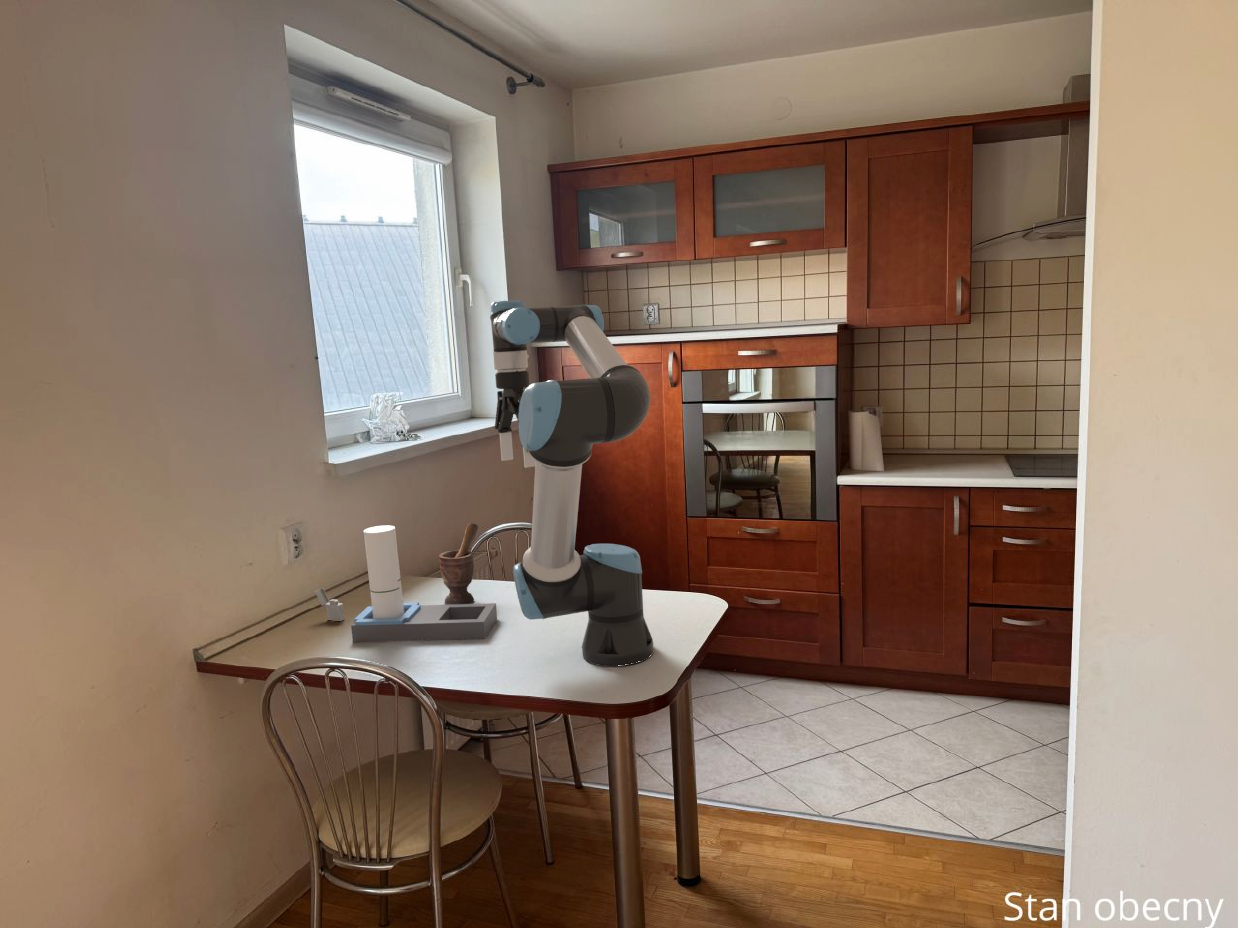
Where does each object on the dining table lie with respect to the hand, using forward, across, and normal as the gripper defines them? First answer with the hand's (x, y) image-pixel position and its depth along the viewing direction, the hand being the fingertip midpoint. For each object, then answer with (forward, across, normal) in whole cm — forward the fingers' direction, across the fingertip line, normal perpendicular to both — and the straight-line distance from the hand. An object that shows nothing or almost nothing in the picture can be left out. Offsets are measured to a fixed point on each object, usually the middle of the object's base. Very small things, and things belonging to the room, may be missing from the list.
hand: (518, 463), depth 194 cm
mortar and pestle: (+39, +28, +7) cm, 48 cm away
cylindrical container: (+39, +17, +29) cm, 51 cm away
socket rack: (+39, +12, +22) cm, 46 cm away
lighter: (+39, +35, +39) cm, 65 cm away
